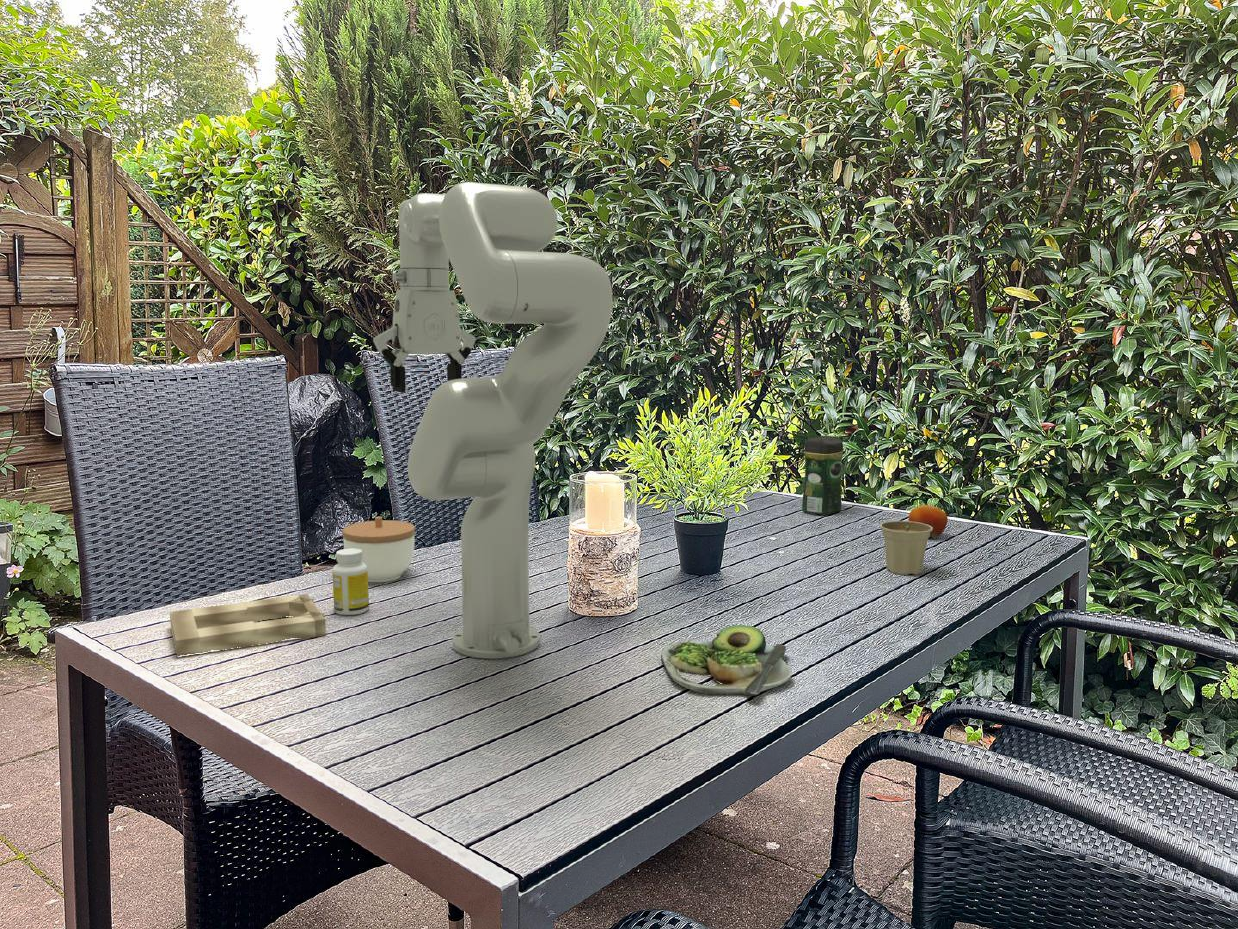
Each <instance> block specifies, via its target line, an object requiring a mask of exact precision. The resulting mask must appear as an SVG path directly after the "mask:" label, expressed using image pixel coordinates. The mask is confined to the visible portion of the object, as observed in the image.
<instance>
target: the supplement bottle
mask: <svg viewBox="0 0 1238 929" xmlns="http://www.w3.org/2000/svg"><path fill="white" fill-rule="evenodd" d="M335 555H336V562H337V564H335V565H334V566H333V567H332V572H331V573H332V590H333V591H332V592H333V593H332V596H333V611H334V612H335V613H336V614H338V615H340V616H354V615H360V614H363V613H365V612H367V611H368V610H369V608H370V598H369V582H368V570H367V566H366V565H365V564H364V563H362V562H361V560H362V558H363V556H362V550H360V549H354V548H351V549H344V548H343V549H339V550H337V551H336V554H335Z"/></svg>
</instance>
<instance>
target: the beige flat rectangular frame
mask: <svg viewBox="0 0 1238 929" xmlns="http://www.w3.org/2000/svg"><path fill="white" fill-rule="evenodd" d="M324 614H325V613H324V612H321V611H320V610H319V608H318V606H317V605H316V604H315V602H314V598H311V597H310V596H309V593H305V594H297V595H290V596H282V597H274V598H267V599H266V598H265V599H259V600H258V599H257V600H250V601H243V602H242V601H241V602H235V603H229V604H228V603H227V604H220V605H212V606H205V607H197V608H189V609H182V610H174V611H169V621H170V622H169V623H170V631H171V630H172V631H171V634H172V635H173V636H172V640H173V639H174V641H173V645H174V644H175V645H174V650H175V649H176V650H175V653H176V654H177V655H176V654H175V655H176V657H177V656H180V655H187V654H195V653H203V652H208V651H211V650H223V649H224V650H225V649H231V648H237V647H238V648H239V647H246V646H252V645H258V644H266V643H271V642H276V641H282V640H285V639H290V638H305V639H310V638H311V637H312V638H316V637H324V636H327V628H326V627H327V626H326V618H325V616H324ZM286 616H293V617H292V618H291V617H288V618H282V617H286ZM277 618H281V619H277ZM267 619H274V620H267ZM262 620H267V621H262ZM258 621H260V622H258ZM266 645H267V644H266ZM246 648H247V647H246ZM239 649H240V648H239Z"/></svg>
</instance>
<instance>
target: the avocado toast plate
mask: <svg viewBox="0 0 1238 929" xmlns="http://www.w3.org/2000/svg"><path fill="white" fill-rule="evenodd" d="M786 651H787V646H786V645H783V644H782V643H781V644H780V643H777V644H776V645H769V644H768V643H767V640H766V637H765V635H764V633H763V632H762V631H761V630H760V629H759V628H757V627H755V626H752V625H746V624H745V625H744V624H742V625H741V624H738V625H734V626H733V625H732V626H727V627H725V628H723V629H721V630H720V631H718V632H716V637H715V638H713V639H712V640H711V641H710V640H709V641H708V640H702V641H701V640H699V641H698V640H687V641H685V640H684V641H677V642H676V641H675V642H673V643H671V644H668V645H667V646H665V647H664V648H663V649H662V651H661V654H660V655H661V660H660V661H661V663H662V665H663V666H664V668H665V669H666V672H667V674H668V675H669V676H670V678H671V679H672V680H673V681H674V682H675V683H676V684H678V685H680V686H681V687H683V688H684V687H685V689H686V690H689V689H690V691H692V690H693V691H692V692H696V693H699V694H700V693H701V694H705V693H707V695H713V694H714V695H715V694H731V695H750V696H757V695H760V693H762V692H764V691H768V690H770V689H774V688H777V687H779V686H781V685H783V684H785V683H787V682H788V681H790V679H791V678H792V671H791V669H790V667H789V666H788V665H787V662H785V661H784V659H783V656H784V655H785V653H786ZM678 670H683V671H682V672H685V671H687V672H686V673H690V672H692V673H691V674H696V673H699V674H698V675H703V674H705V676H708V675H711V676H712V677H713V678H712V677H711V678H712V679H714V678H715V679H716V680H715V679H714V682H715V681H718V682H720V683H722V684H720V685H719V684H715V686H714V685H708V684H703V683H697V682H694V681H693V680H689V679H686V677H684V676H683V675H682V674H680V673H681V672H680V671H679V672H680V673H679V672H678ZM681 675H682V676H683V677H684V678H683V677H682V676H681ZM718 682H717V683H718ZM715 696H716V695H715Z"/></svg>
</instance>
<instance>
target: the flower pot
mask: <svg viewBox="0 0 1238 929" xmlns="http://www.w3.org/2000/svg"><path fill="white" fill-rule="evenodd" d="M879 527H880V528H881V531H882V532H881V533H882V535H883V538H884V549H885V550H884V551H885V560H886V569H887V571H889V572H890V573H892V574H895V575H901V576H908V575H909V574H912V575H914V576H915V575H919V574H921V573H922V570H923V566H924V565H923V564H924V559H925V556H926V555H925V554H926V549H927V545H928V541H929V540H928V539H929V538H931V537H930V532H931V531H932V530H933V527H931V526H930V525H927V524H923V523H919V522H912V521H909V520H888V521H883V522H881V523H880V524H879Z"/></svg>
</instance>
